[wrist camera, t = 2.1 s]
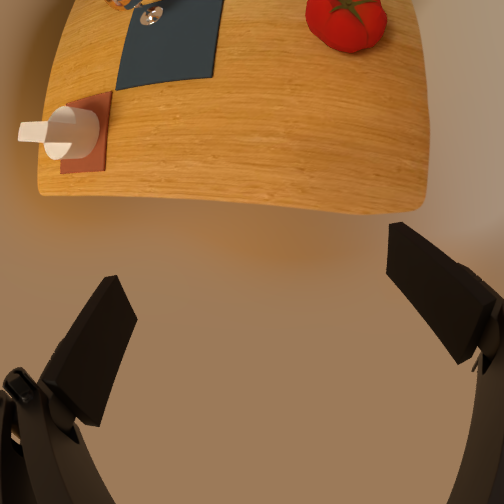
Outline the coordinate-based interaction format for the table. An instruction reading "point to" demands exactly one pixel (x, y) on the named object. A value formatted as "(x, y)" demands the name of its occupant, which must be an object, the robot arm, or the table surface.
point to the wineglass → (129, 0)
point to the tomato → (346, 23)
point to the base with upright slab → (64, 133)
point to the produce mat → (98, 154)
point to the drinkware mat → (171, 44)
